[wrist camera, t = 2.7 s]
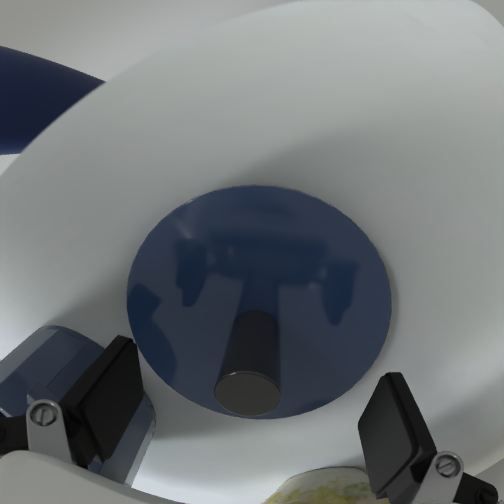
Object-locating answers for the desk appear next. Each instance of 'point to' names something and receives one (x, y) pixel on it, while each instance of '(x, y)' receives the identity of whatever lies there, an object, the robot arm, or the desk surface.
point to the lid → (259, 301)
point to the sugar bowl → (327, 488)
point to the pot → (57, 385)
